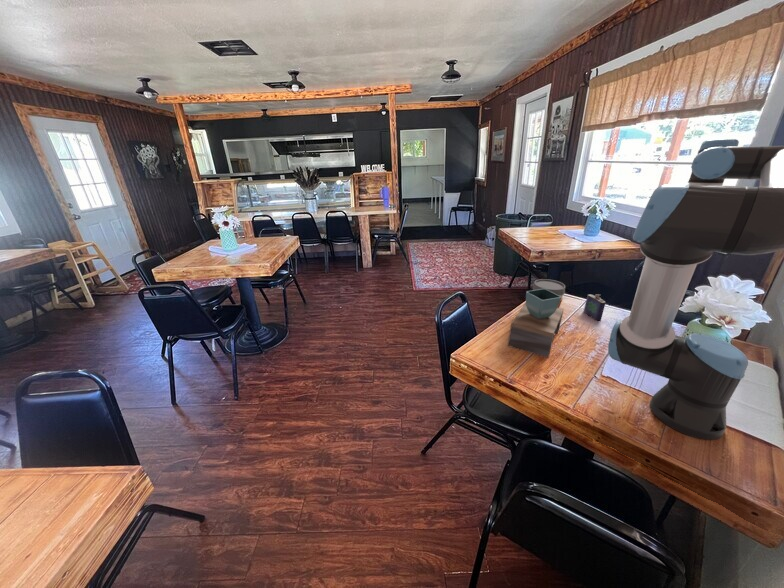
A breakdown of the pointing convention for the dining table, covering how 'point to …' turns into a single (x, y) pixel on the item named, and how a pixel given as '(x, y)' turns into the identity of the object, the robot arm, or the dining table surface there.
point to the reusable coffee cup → (550, 287)
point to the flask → (594, 307)
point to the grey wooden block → (534, 331)
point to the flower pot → (542, 303)
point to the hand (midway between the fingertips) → (674, 266)
